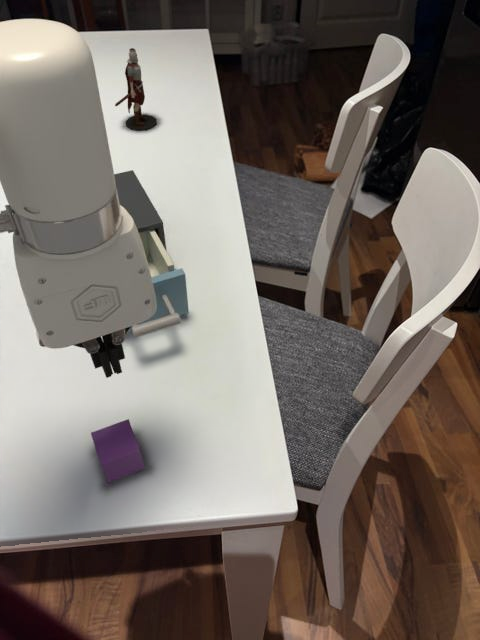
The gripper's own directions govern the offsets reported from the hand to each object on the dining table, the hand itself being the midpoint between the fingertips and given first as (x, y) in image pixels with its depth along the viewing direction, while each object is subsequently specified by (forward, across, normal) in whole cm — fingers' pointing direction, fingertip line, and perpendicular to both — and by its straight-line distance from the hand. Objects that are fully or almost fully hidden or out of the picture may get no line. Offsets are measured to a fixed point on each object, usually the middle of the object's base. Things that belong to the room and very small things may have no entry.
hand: (110, 364), depth 52 cm
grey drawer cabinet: (+12, +8, +31) cm, 35 cm away
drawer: (+11, +8, +18) cm, 23 cm away
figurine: (+12, +25, +70) cm, 75 cm away
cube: (+12, -2, -3) cm, 13 cm away
